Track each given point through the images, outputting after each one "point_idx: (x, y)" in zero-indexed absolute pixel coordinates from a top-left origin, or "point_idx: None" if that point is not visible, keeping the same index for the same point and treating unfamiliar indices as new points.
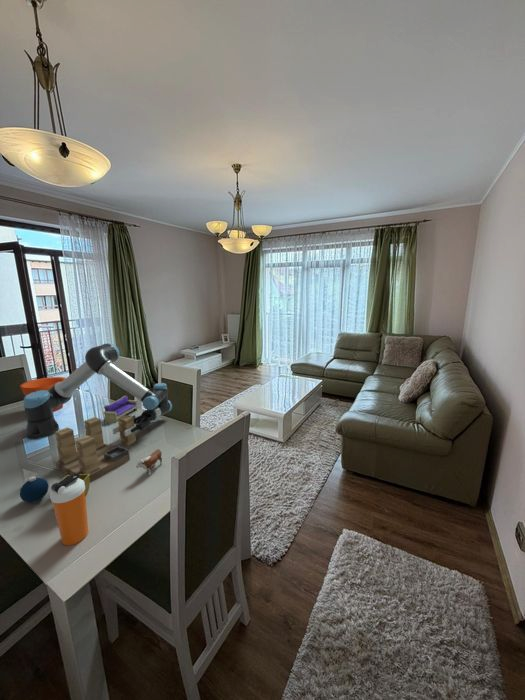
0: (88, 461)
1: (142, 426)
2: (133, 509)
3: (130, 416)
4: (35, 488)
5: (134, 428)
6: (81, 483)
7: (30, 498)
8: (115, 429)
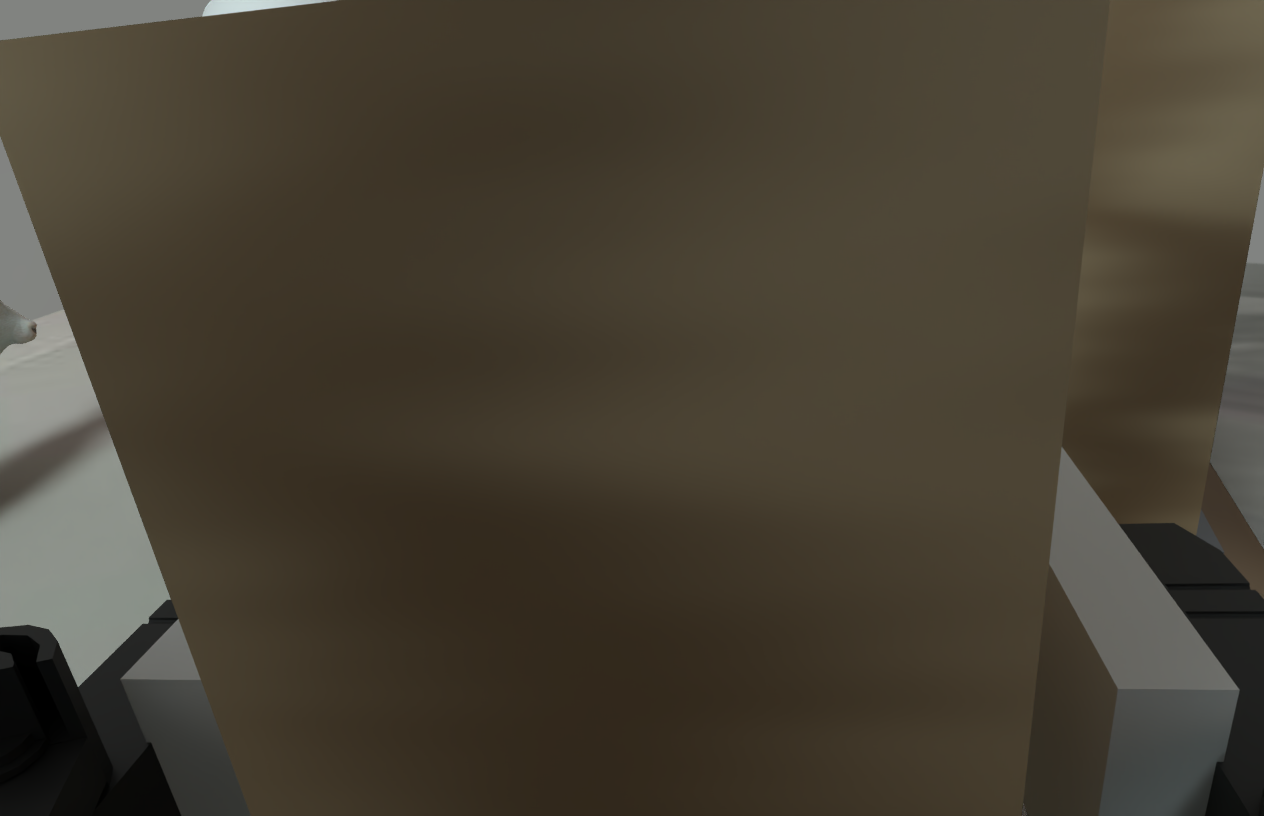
0: None
1: None
2: (79, 351)
3: (287, 16)
4: None
5: (166, 630)
6: (206, 5)
7: None
8: None
